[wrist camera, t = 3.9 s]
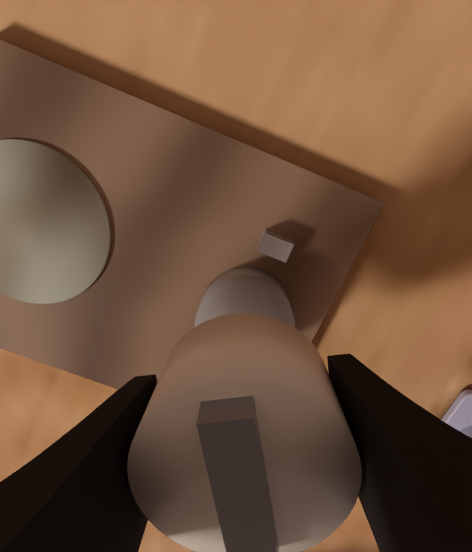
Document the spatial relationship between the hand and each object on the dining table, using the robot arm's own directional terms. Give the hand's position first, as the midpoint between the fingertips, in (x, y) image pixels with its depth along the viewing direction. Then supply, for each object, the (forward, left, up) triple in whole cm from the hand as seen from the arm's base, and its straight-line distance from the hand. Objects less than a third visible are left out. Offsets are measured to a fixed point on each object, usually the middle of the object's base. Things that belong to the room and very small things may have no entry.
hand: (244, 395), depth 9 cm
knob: (0, 0, 0) cm, 0 cm away
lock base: (+5, 0, -7) cm, 9 cm away
